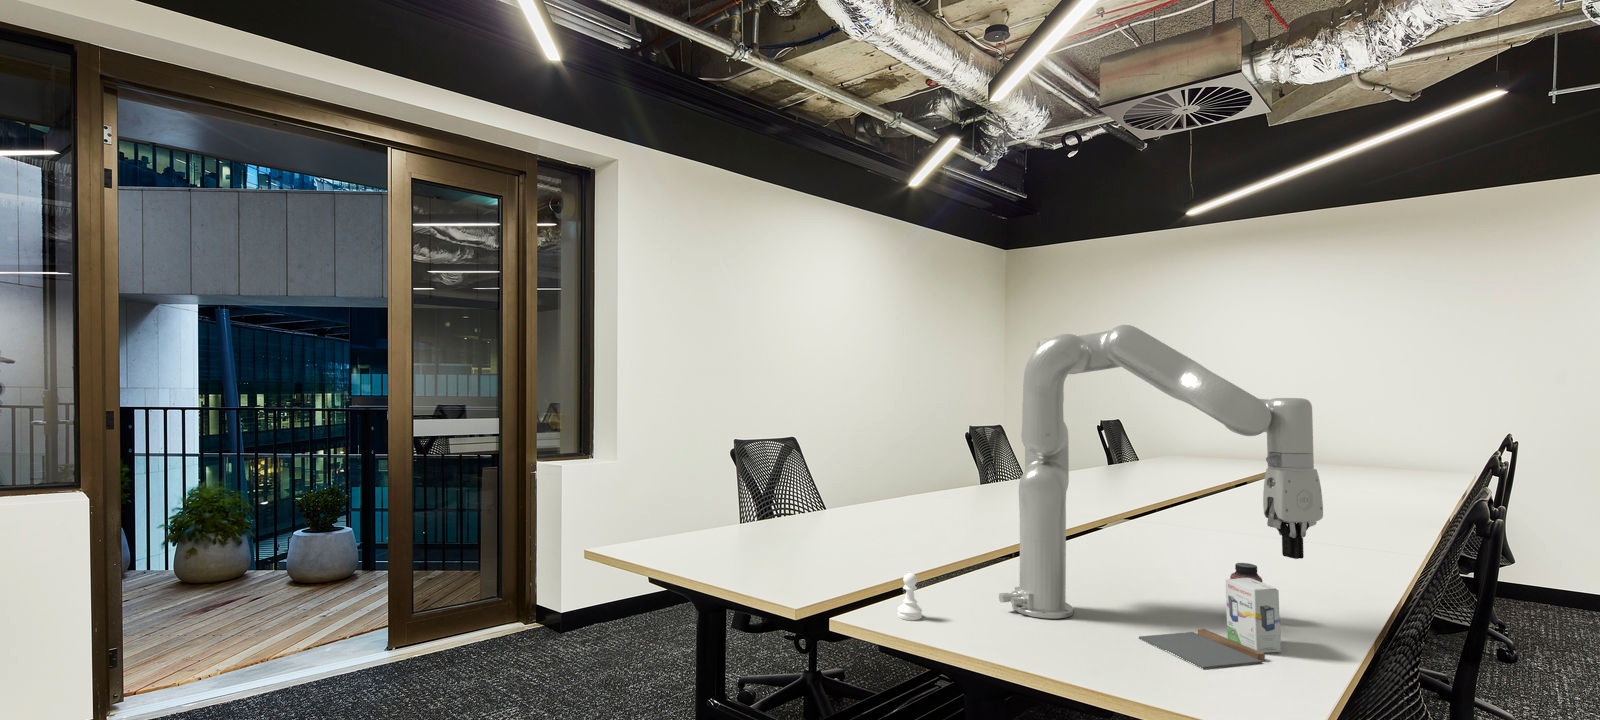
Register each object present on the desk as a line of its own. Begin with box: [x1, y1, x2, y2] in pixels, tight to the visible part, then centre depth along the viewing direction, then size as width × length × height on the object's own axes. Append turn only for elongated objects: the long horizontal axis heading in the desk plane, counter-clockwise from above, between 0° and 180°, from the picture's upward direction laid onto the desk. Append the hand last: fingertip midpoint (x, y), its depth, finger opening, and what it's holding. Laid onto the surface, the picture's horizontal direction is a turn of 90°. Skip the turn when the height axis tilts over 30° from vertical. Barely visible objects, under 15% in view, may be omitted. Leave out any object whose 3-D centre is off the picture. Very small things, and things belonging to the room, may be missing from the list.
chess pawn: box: [897, 572, 923, 621], centre depth 157 cm, size 5×5×9 cm
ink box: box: [1225, 578, 1282, 654], centre depth 143 cm, size 9×5×12 cm, turn 6°
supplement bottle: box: [1229, 562, 1263, 583], centre depth 160 cm, size 6×6×11 cm
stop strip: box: [1197, 628, 1266, 662], centre depth 142 cm, size 2×14×1 cm, turn 16°
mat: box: [1138, 631, 1263, 670], centre depth 140 cm, size 13×16×1 cm
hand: (1292, 557), depth 146 cm, fingers closed
